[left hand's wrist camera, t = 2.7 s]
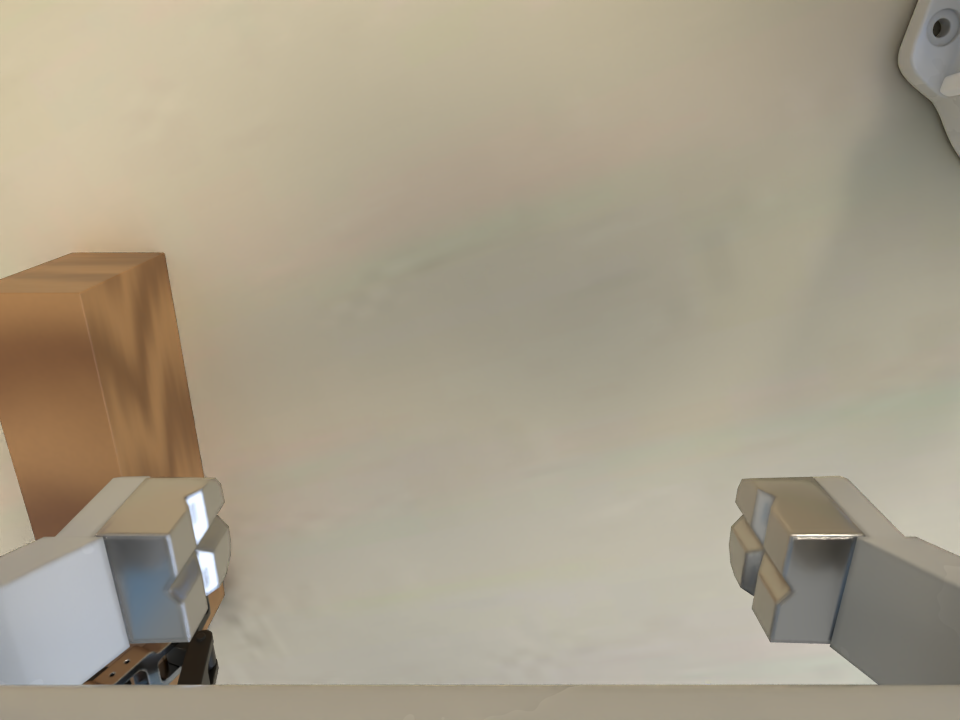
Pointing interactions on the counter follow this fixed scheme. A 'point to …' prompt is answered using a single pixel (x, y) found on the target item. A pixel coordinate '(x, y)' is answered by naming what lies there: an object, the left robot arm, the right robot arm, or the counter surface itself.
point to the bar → (93, 384)
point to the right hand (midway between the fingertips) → (151, 593)
